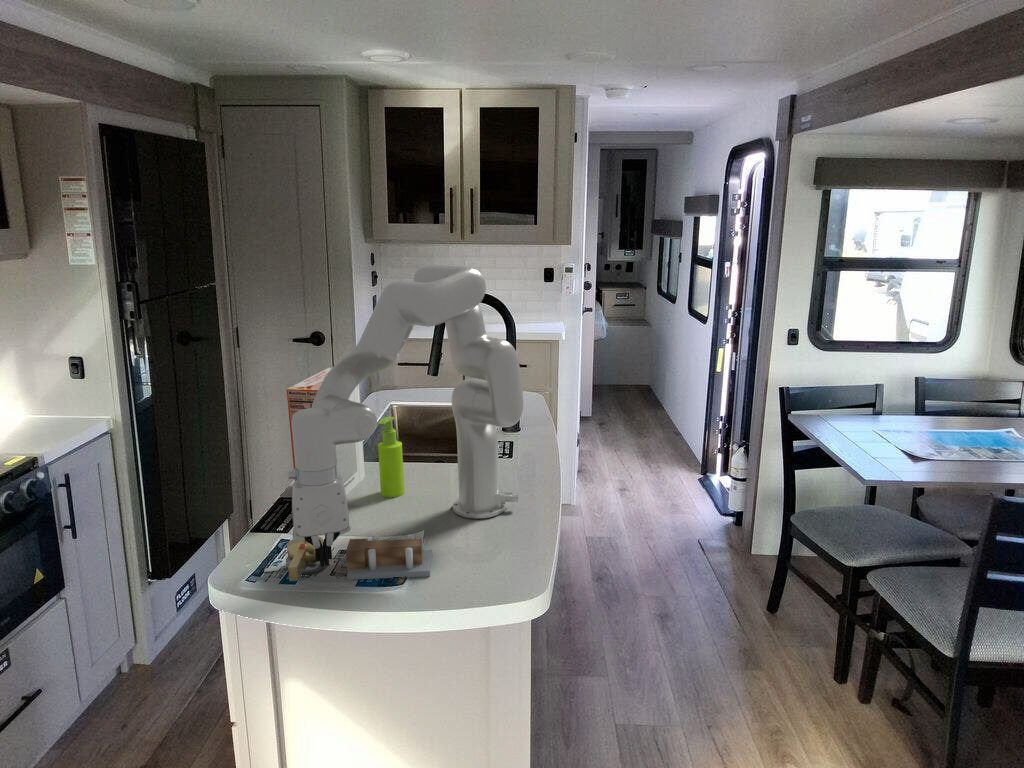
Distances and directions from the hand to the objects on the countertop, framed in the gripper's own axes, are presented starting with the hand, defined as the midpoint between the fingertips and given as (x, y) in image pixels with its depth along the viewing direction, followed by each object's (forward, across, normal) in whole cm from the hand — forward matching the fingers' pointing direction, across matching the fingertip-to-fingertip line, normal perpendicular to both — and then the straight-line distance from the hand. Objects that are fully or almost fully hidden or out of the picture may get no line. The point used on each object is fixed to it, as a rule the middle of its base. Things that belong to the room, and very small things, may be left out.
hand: (324, 563), depth 139 cm
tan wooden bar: (+2, +12, +1) cm, 12 cm away
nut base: (+4, -5, +7) cm, 9 cm away
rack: (+4, +13, 0) cm, 13 cm away
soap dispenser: (+4, +20, +38) cm, 44 cm away
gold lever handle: (+1, -4, +3) cm, 5 cm away
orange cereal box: (+4, +7, +45) cm, 45 cm away
